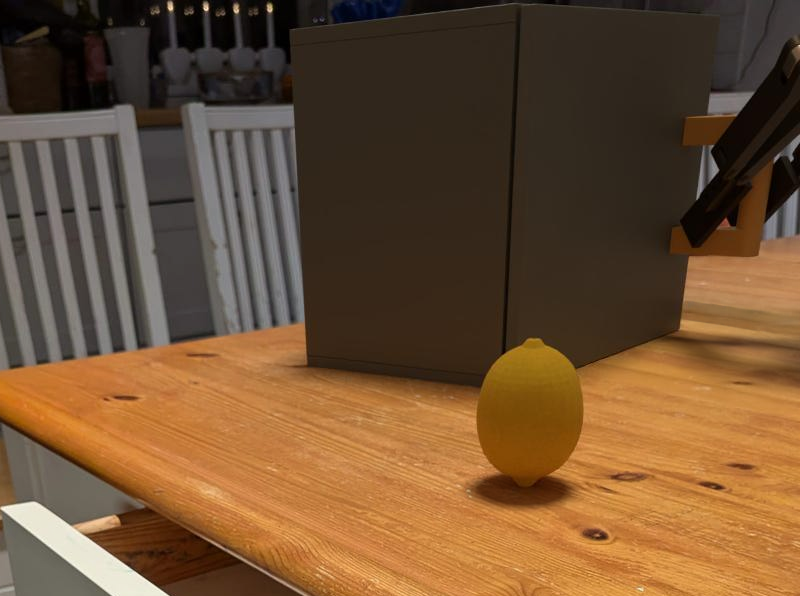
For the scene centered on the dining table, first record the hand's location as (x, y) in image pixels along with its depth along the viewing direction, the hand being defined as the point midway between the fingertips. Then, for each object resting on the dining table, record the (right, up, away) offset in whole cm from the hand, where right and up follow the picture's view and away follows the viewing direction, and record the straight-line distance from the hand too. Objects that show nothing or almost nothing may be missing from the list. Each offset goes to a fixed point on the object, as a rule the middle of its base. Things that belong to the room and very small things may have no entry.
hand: (713, 231), depth 78 cm
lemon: (-21, -25, -26) cm, 42 cm away
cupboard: (-18, -7, +6) cm, 21 cm away
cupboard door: (-7, -11, -3) cm, 14 cm away
